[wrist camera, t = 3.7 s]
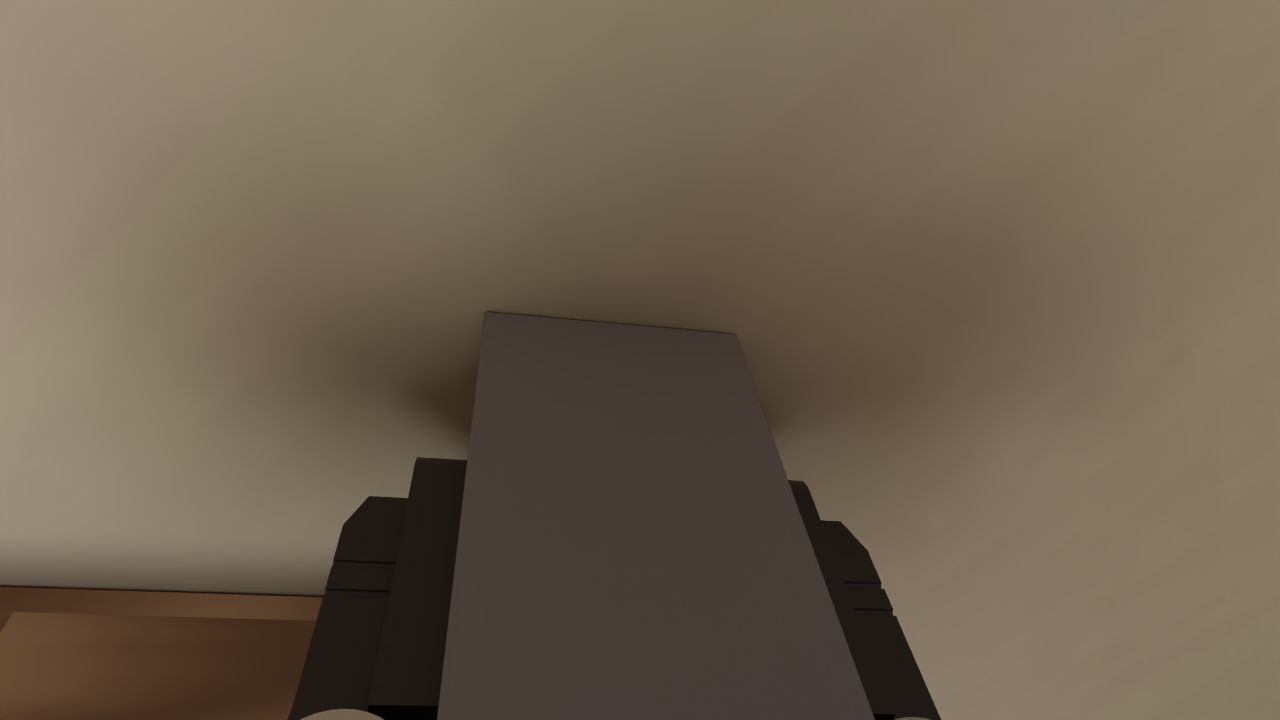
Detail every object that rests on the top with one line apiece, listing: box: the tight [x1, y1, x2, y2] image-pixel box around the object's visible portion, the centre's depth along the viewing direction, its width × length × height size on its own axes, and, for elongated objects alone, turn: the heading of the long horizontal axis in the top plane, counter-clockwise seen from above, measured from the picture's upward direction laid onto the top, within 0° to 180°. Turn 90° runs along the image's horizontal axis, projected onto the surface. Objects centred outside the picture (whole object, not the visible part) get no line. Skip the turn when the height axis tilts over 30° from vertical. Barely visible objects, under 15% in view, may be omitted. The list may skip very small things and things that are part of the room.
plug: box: [437, 312, 875, 720], centre depth 9 cm, size 4×4×10 cm
